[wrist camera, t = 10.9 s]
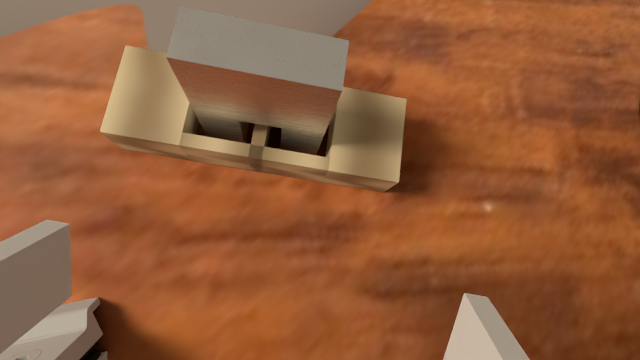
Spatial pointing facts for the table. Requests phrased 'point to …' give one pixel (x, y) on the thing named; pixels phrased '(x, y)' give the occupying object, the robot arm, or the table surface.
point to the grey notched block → (257, 77)
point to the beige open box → (183, 142)
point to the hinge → (61, 335)
